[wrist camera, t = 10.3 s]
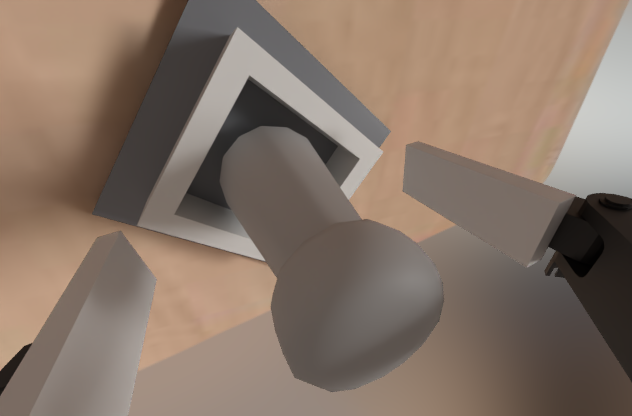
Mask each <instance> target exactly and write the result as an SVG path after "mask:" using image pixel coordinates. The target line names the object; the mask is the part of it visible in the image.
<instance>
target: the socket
mask: <svg viewBox="0 0 632 416" xmlns="http://www.w3.org/2000/svg"><path fill="white" fill-rule="evenodd" d="M260 126H271V127H287V128H289V129H291V130H293V131H295V132H296V133H298V134H300V135H302V136H304V137H306V138H307V139H308V140H309V142H310V143H311V145H312V146H313V148H314V149H315V151H316V152H317V154H318V155H319V157H320V158H321V160H322V161H323V163H324V164H325V166H326V167H327V169H328V170H329V172H330V173H331V175H332V176H333V178H334V179H335V181H336V182H337V184H338V185H339V187H340V188H341V190H342V191H343V193H344V194H345V195H346V197H347V198H348V200H349V199H350V198H351V196H352V195H353V193H354V192H355V191H356V189H357V188H358V186H359V185H360V184H361V182H362V181H363V179H364V178H365V177H366V175H367V174H368V173H369V171H370V170H371V168H372V167H373V166H374V164H375V163H376V161H377V160H378V159H379V157H380V156H381V154H382V153H383V151H382V150H381V149H379V147H380V146H381V145H382V143H383V142H384V140H385V139H386V137H387V136H388V135H389V133H390V132H391V131H390V130H389V129H388V128H387V127H386V126H385V125H384V124H383V123H382V122H381V121H380V120H379V119H377V118H376V117H375V116H374V115H373V114H372V113H371V112H370V111H369V110H368V109H367V108H366V107H365V106H364V105H363V104H362V103H361V102H360V101H359V100H358V99H357V98H356V97H355V96H354V95H353V94H352V93H351V92H350V91H349V90H348V89H347V88H346V87H344V86H343V85H342V84H341V83H340V82H339V81H338V80H337V79H336V78H335V77H334V76H333V75H332V74H331V73H330V72H329V71H328V70H327V69H326V68H325V67H324V66H323V65H322V64H321V63H320V62H319V61H318V60H317V59H316V58H315V57H314V56H313V55H311V54H310V53H309V52H308V51H307V50H306V49H305V48H304V47H303V46H302V45H301V44H300V43H299V42H298V41H297V40H296V39H295V38H294V37H293V36H292V35H291V34H290V33H289V32H288V31H287V30H286V29H285V28H284V27H283V26H282V25H281V24H279V23H278V22H277V21H276V20H275V19H274V18H273V17H272V16H271V15H270V14H269V13H268V12H267V11H266V10H265V9H264V8H263V7H262V6H261V5H260V4H259V3H258V2H257V1H256V0H188V3H187V5H186V7H185V9H184V11H183V14H182V16H181V18H180V20H179V22H178V25H177V27H176V29H175V31H174V34H173V36H172V38H171V40H170V42H169V45H168V47H167V49H166V51H165V53H164V56H163V58H162V60H161V62H160V65H159V67H158V69H157V71H156V73H155V76H154V78H153V80H152V82H151V84H150V87H149V89H148V91H147V93H146V96H145V98H144V100H143V102H142V104H141V107H140V109H139V111H138V113H137V115H136V118H135V120H134V122H133V124H132V127H131V129H130V131H129V133H128V135H127V138H126V140H125V142H124V144H123V146H122V149H121V151H120V153H119V155H118V158H117V160H116V162H115V164H114V166H113V169H112V171H111V173H110V175H109V177H108V180H107V182H106V184H105V186H104V188H103V191H102V193H101V195H100V197H99V200H98V202H97V204H96V206H95V208H94V211H93V213H92V214H93V215H97V216H101V217H104V218H108V219H111V220H115V221H119V222H122V223H126V224H130V225H133V226H137V227H141V228H144V229H148V230H152V231H155V232H159V233H162V234H166V235H170V236H173V237H177V238H181V239H184V240H188V241H192V242H195V243H199V244H202V245H206V246H210V247H213V248H217V249H221V250H224V251H228V252H232V253H235V254H239V255H242V256H246V257H250V258H253V259H257V260H261V261H264V262H266V261H265V259H264V258H263V256H262V255H261V253H260V252H259V250H258V249H257V247H256V246H255V244H254V243H253V241H252V240H251V238H250V237H249V235H248V234H247V232H246V231H245V229H244V228H243V226H242V225H241V223H240V222H239V220H238V219H237V217H236V216H235V214H234V213H233V211H232V210H231V209H230V207H229V206H228V204H227V202H226V199H225V196H224V193H223V190H222V187H221V184H220V174H221V166H222V159H223V156H224V155H225V153H226V152H227V151H228V150H229V148H230V147H231V146H232V145H233V143H234V142H235V141H236V140H237V139H238V137H239V136H241V135H243V134H245V133H247V132H249V131H251V130H254V129H256V128H258V127H260Z"/></svg>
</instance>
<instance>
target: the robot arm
mask: <svg viewBox="0 0 632 416" xmlns="http://www.w3.org/2000/svg"><path fill="white" fill-rule="evenodd" d="M403 192H405V193H406V194H408V195H410V196H411V197H413V198H414V199H416V200H418V201H419V202H421V203H423V204H424V205H426V206H427V207H429V208H431V209H432V210H434V211H436V212H437V213H439V214H440V215H442V216H444V217H445V218H447V219H449V220H450V221H452V222H453V223H455V224H457V225H458V226H460V227H462V228H463V229H465V230H466V231H468V232H470V233H471V234H473V235H475V236H476V237H478V238H479V239H481V240H483V241H484V242H486V243H488V244H489V245H491V246H493V247H494V248H496V249H497V250H499V251H501V252H502V253H504V254H505V255H507V256H509V257H510V258H512V259H514V260H515V261H517V262H518V263H520V264H522V265H523V266H525V267H529V266H531V265H532V264H534V263H536V262H538V261H540V260H541V259H542V257H543V256H544V253H545V252H546V250H547V248H548V247H550V248H552V249H554V250H556V252H555V253H554V255H553V257H552V259H551V260H550V262H549V264H548V265H547V267H546V269H545V275H546V276H550V274H551V272H552V271H553V269H554V268H557V267H558V270H557V271H556V273H555V277H563V278H565V279H566V280H567V282H568V283H569V285H570V286H571V288H572V289H573V291H574V293H575V294H576V296H577V297H578V299H579V300H580V302H581V303H582V305H583V307H584V308H585V310H586V311H587V313H588V314H589V316H590V318H591V319H592V321H593V322H594V324H595V325H596V327H597V328H598V330H599V332H600V333H601V335H602V336H603V338H604V339H605V341H606V343H607V344H608V346H609V347H610V349H611V350H612V352H613V353H614V355H615V357H616V358H617V360H618V361H619V363H620V364H621V366H622V367H623V369H624V371H625V372H626V374H627V375H628V377H629V378H630V380H631V381H632V199H631V198H628V197H624V196H620V195H615V194H606V193H596V194H591V195H588V196H587V198H586V199H582V198H579V197H576V195H574V194H570V193H567V192H565V191H562V190H559V189H556V188H553V187H550V186H547V185H544V184H542V183H539V182H536V181H533V180H530V179H527V178H524V177H521V176H518V175H515V174H512V173H509V172H506V171H504V170H501V169H498V168H495V167H492V166H489V165H486V164H483V163H480V162H477V161H474V160H471V159H468V158H465V157H463V156H460V155H457V154H454V153H451V152H448V151H445V150H442V149H439V148H436V147H433V146H430V145H427V144H425V143H422V142H419V141H418V142H414V143H411V144H408V145H406V154H405V167H404V179H403ZM156 280H157V279H156V278H155V276H154V275H153V274H152V272H151V271H150V270H149V268H148V267H147V266H146V264H145V263H144V262H143V260H142V259H141V257H140V256H139V255H138V253H137V252H136V251H135V249H134V248H133V247H132V245H131V244H130V243H129V241H128V240H127V239H126V237H125V236H124V235H123V233H122V232H121V231H117V232H114V233H111V234H107V235H104V236H101V237H97V239H96V240H95V242H94V243H93V245H92V247H91V248H90V250H89V252H88V253H87V255H86V257H85V258H84V260H83V261H82V263H81V265H80V266H79V268H78V270H77V271H76V273H75V275H74V276H73V278H72V279H71V281H70V283H69V284H68V286H67V288H66V289H65V291H64V293H63V294H62V296H61V297H60V299H59V301H58V302H57V304H56V306H55V307H54V309H53V311H52V312H51V314H50V315H49V317H48V319H47V320H46V322H45V324H44V325H43V327H42V329H41V330H40V332H39V333H38V335H37V337H36V338H35V340H34V342H33V343H31V344H28V345H26V346H24V347H23V348H22V349H21V350H20V351H19V352H18V353H17V354H16V355H15V356H14V357H13V358H12V359H11V360H10V361H9V362H8V363H7V364H6V365H5V366H4V368H3V369H2V370H1V371H0V416H128V413H129V409H130V404H131V399H132V394H133V389H134V385H135V380H136V375H137V370H138V366H139V361H140V356H141V351H142V347H143V342H144V337H145V332H146V328H147V323H148V318H149V313H150V309H151V304H152V299H153V294H154V289H155V285H156Z"/></svg>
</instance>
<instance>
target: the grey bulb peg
mask: <svg viewBox="0 0 632 416" xmlns="http://www.w3.org/2000/svg"><path fill="white" fill-rule="evenodd" d="M220 184H221V187H222V190H223V193H224V196H225V199H226V202H227V204H228V206H229V207H230V209H231V210H232V211H233V213H234V214H235V216H236V217H237V219H238V220H239V222H240V223H241V225H242V226H243V228H244V229H245V231H246V232H247V234H248V235H249V237H250V238H251V240H252V241H253V243H254V244H255V246H256V247H257V249H258V250H259V252H260V253H261V255H262V256H263V258H264V259H265V261H266V262H267V264H268V265H269V267H270V268H271V270H272V271H273V273H274V274H275V276H276V277H277V282H276V285H275V289H274V292H273V296H272V302H271V311H272V316H273V322H274V327H275V331H276V334H277V337H278V340H279V343H280V346H281V349H282V352H283V355H284V356H285V358H286V361H287V363H288V365H289V367H290V369H291V371H292V373H293V375H294V377H295V378H297V379H299V380H302V381H304V382H307V383H309V384H312V385H314V386H317V387H320V388H322V389H325V390H328V391H330V392H335V391H344V390H352V389H356V388H359V387H361V386H363V385H366V384H368V383H370V382H372V381H375V380H377V379H379V378H381V377H383V376H385V375H387V374H388V373H389V372H391V371H392V370H394V369H395V368H397V367H398V366H400V365H401V364H402V363H404V362H405V361H406V360H407V359H408V358H409V357H410V356H411V355H412V354H413V353H415V351H417V350H418V349H419V348H420V347H421V346H422V345H423V343H424V342H425V341H426V340H427V338H428V337H429V335H430V334H431V332H432V331H433V329H434V328H435V326H436V325H437V323H438V322H439V319H440V315H441V311H442V307H443V302H444V295H443V282H442V280H441V278H440V275H439V273H438V270H437V268H436V265H435V264H434V262H433V261H432V260H431V259H430V258H429V257H428V255H427V254H426V253H425V252H424V251H423V249H422V248H421V247H420V246H419V245H418V244H417V243H416V242H414V241H413V240H412V239H410V238H409V237H407V236H406V235H405V234H403V233H402V232H400V231H398V230H396V229H393V228H391V227H388V226H386V225H383V224H380V223H378V222H375V221H372V220H368V219H364V220H362V219H361V218H360V216H359V215H358V213H357V212H356V210H355V209H354V207H353V206H352V204H351V203H350V201H349V200H348V198H347V197H346V195H345V194H344V193H343V191H342V190H341V188H340V187H339V185H338V184H337V182H336V181H335V179H334V178H333V176H332V175H331V173H330V172H329V170H328V169H327V167H326V166H325V164H324V163H323V161H322V160H321V158H320V157H319V155H318V154H317V152H316V151H315V149H314V148H313V146H312V145H311V143H310V142H309V140H308V139H307V138H306V137H304V136H302V135H300V134H298V133H296V132H295V131H293V130H291V129H289V128H287V127H271V126H260V127H258V128H256V129H254V130H251V131H249V132H247V133H245V134H243V135H241V136H239V137H238V139H237V140H236V141H235V142H234V143H233V145H232V146H231V147H230V148H229V150H228V151H227V152H226V153H225V155H224V156H223V159H222V166H221V174H220Z"/></svg>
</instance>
